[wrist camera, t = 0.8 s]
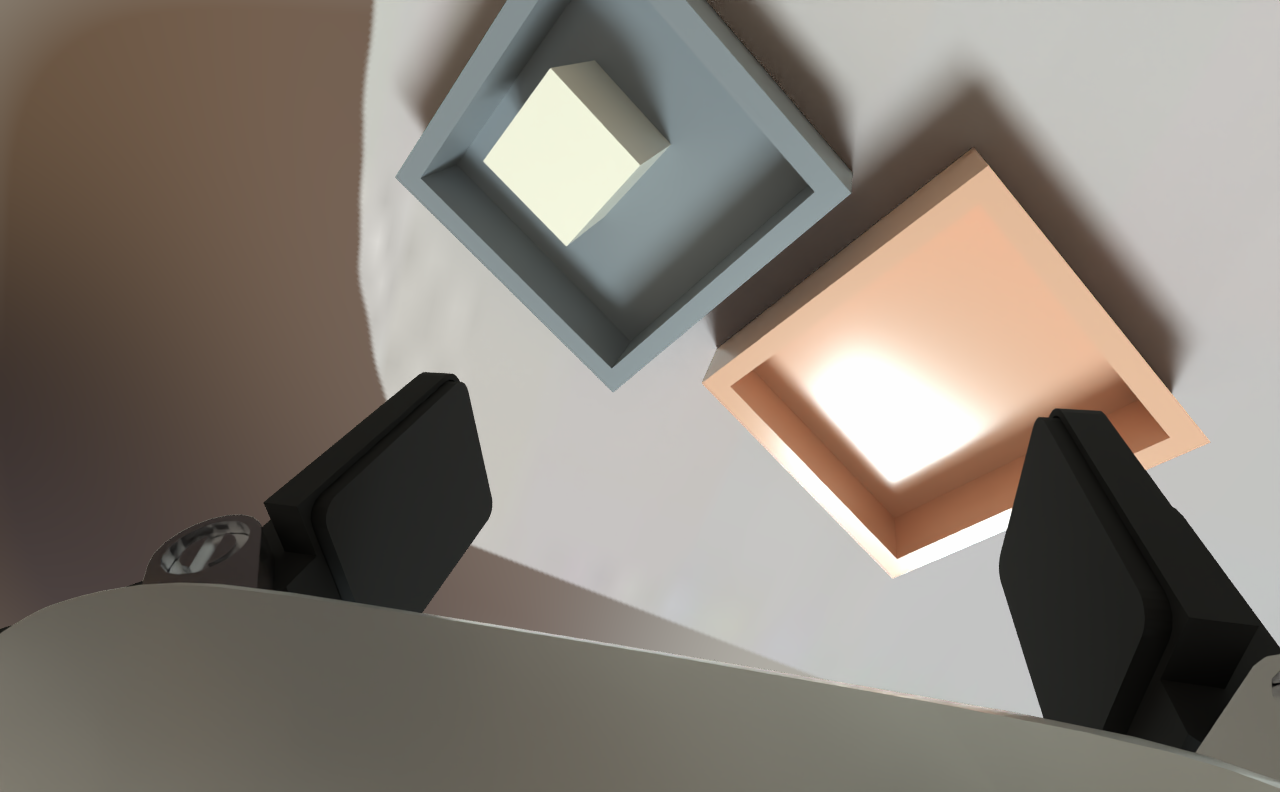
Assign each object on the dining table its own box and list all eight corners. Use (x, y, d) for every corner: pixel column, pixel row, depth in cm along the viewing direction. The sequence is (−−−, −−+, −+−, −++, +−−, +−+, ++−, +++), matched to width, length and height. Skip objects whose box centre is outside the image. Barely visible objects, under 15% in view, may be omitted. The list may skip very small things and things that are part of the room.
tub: (973, 146, 32) (988, 165, 29) (1171, 394, 36) (1210, 442, 32) (716, 348, 42) (701, 383, 38) (890, 529, 45) (892, 578, 41)
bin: (617, -103, 32) (582, -120, 28) (852, 172, 35) (851, 193, 31) (440, 161, 41) (395, 177, 37) (635, 358, 44) (613, 392, 40)
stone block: (594, 60, 35) (550, 68, 30) (670, 144, 36) (640, 165, 31) (532, 142, 38) (483, 161, 33) (604, 217, 39) (566, 246, 34)
